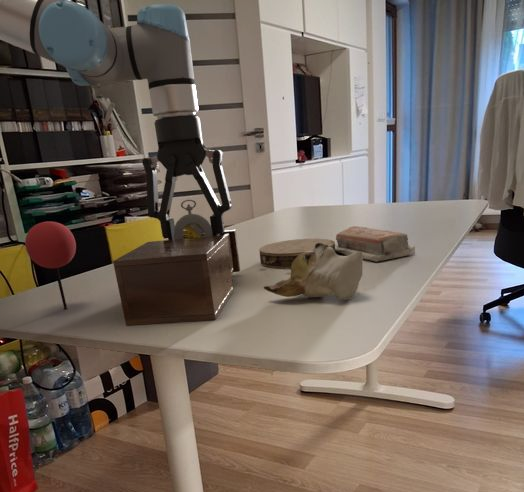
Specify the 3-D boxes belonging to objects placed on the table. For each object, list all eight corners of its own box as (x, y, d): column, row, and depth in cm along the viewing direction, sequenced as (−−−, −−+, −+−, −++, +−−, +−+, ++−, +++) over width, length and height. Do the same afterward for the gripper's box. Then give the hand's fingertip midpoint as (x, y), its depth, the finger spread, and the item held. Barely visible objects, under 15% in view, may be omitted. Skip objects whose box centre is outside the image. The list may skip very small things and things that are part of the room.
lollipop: (69, 315, 87) (47, 224, 81) (33, 315, 90) (10, 226, 84) (97, 302, 93) (79, 217, 88) (63, 302, 96) (43, 219, 91)
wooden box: (157, 296, 93) (147, 241, 89) (233, 291, 91) (226, 235, 87) (125, 325, 78) (112, 261, 75) (215, 320, 76) (206, 253, 73)
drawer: (185, 268, 109) (179, 230, 106) (244, 264, 107) (240, 225, 105) (156, 294, 90) (148, 249, 88) (227, 289, 89) (221, 243, 86)
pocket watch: (199, 249, 100) (191, 195, 96) (227, 252, 94) (219, 194, 90) (163, 258, 95) (153, 202, 91) (190, 262, 89) (180, 202, 85)
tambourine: (339, 263, 103) (339, 248, 102) (259, 271, 104) (258, 256, 103) (331, 249, 118) (330, 236, 117) (261, 256, 119) (260, 243, 117)
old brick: (417, 230, 102) (375, 238, 98) (417, 254, 104) (376, 263, 100) (363, 223, 117) (325, 229, 114) (363, 244, 119) (326, 252, 115)
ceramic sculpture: (344, 247, 71) (255, 252, 80) (350, 308, 74) (263, 306, 82) (375, 234, 79) (291, 239, 88) (379, 289, 82) (297, 289, 90)
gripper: (239, 110, 88) (254, 245, 96) (126, 124, 91) (149, 254, 99) (232, 107, 81) (248, 253, 89) (109, 122, 84) (136, 262, 92)
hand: (196, 254), depth 94 cm, fingers closed on pocket watch, 7 cm apart
